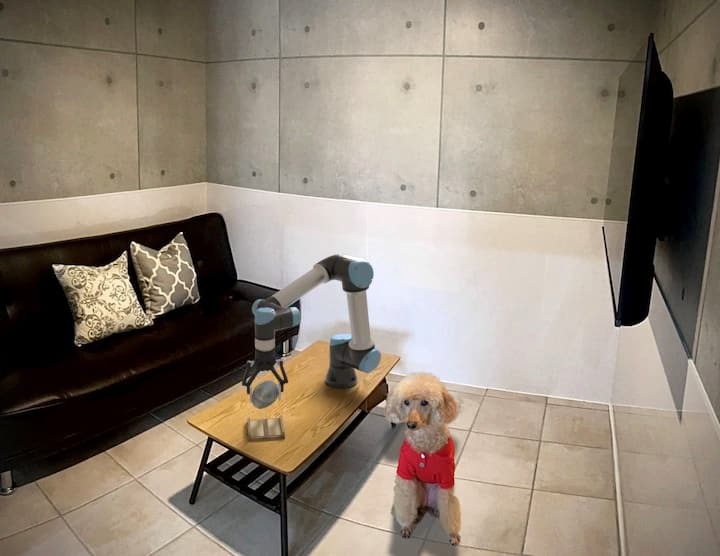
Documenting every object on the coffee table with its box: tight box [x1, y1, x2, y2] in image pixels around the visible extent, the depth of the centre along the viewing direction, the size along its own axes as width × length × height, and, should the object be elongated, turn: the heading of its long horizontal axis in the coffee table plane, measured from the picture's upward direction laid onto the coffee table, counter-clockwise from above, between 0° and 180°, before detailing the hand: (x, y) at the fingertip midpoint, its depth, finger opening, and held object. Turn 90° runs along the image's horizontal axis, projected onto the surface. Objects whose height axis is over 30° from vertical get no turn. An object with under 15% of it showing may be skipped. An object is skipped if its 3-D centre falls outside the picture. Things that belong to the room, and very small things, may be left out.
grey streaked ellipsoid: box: [251, 380, 278, 410], centre depth 240 cm, size 14×10×10 cm
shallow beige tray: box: [246, 414, 286, 442], centre depth 244 cm, size 14×15×2 cm
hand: (265, 400), depth 241 cm, fingers closed on grey streaked ellipsoid, 10 cm apart
